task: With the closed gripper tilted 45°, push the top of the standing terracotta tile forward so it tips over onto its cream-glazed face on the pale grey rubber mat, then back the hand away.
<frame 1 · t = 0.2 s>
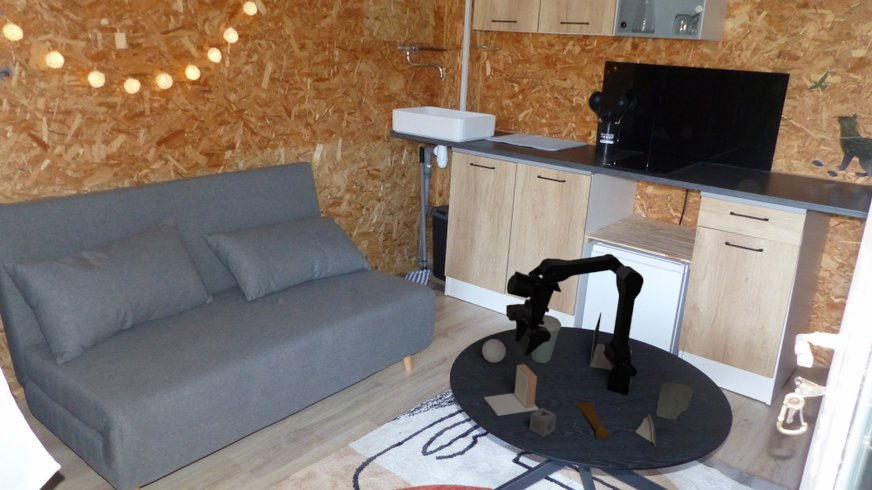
hand: (521, 348, 208), 15 cm above the table, tool tilted 15°, fingers open, 9 cm apart
tile: (523, 400, 208), resting on mat
dice cube: (541, 430, 195), on the table
ceramic fragment: (648, 433, 196), on the table
geometric ball: (492, 361, 233), on the table
mat: (510, 404, 207), on the table
disposable coffee cup: (541, 359, 236), on the table
stone slab: (674, 404, 213), on the table
primitive tool: (590, 421, 201), on the table
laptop: (611, 360, 239), on the table
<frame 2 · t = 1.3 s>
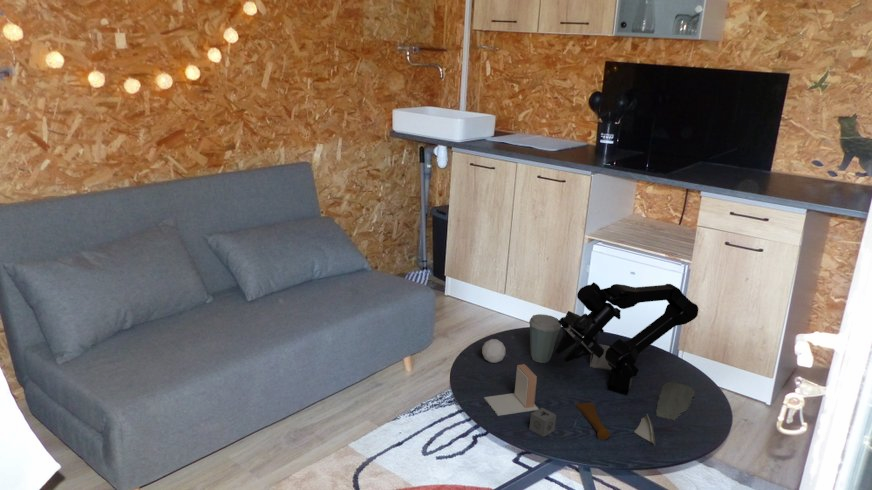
hand: (560, 357, 208), 14 cm above the table, tool tilted 45°, fingers open, 5 cm apart
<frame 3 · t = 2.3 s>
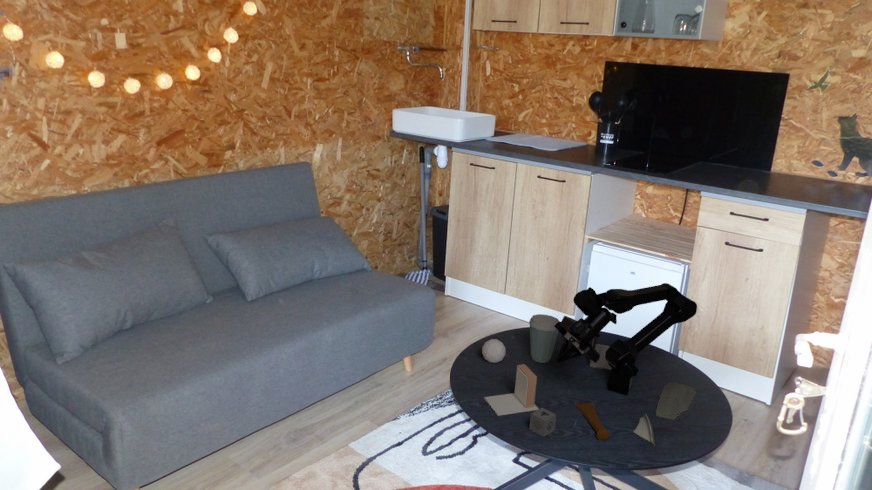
hand: (556, 361, 208), 12 cm above the table, tool tilted 45°, fingers closed
nothing on the table moved.
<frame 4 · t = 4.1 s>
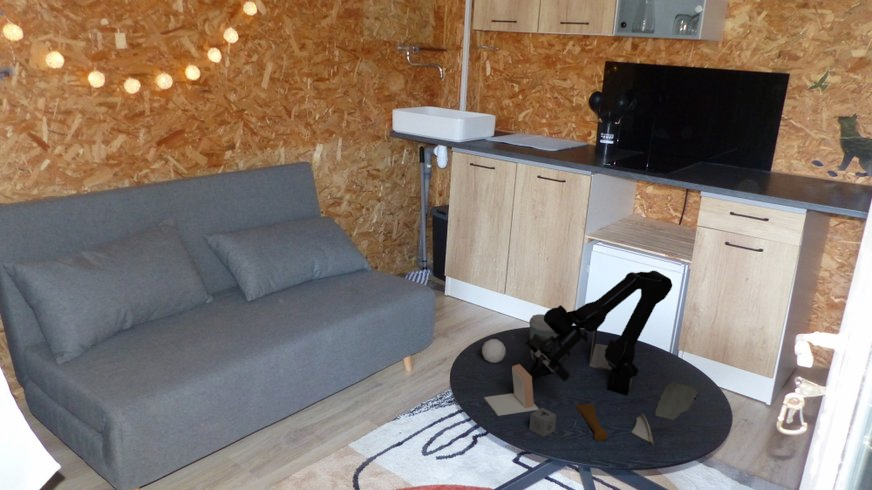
hand: (526, 379, 206), 7 cm above the table, tool tilted 45°, fingers closed, pressing on tile
tile: (523, 400, 208), point 1 cm above the table, tilted 10°, touching gripper, mat
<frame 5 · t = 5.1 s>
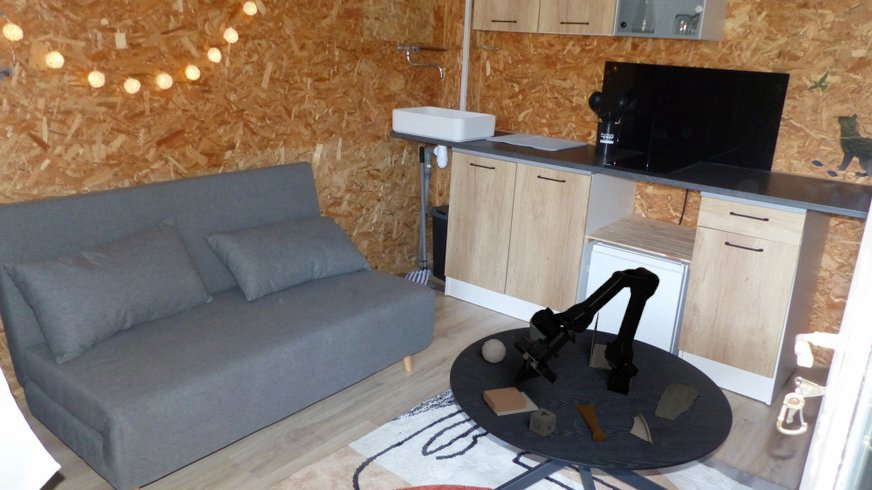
hand: (514, 382, 205), 7 cm above the table, tool tilted 45°, fingers closed
tile: (520, 397, 207), point 2 cm above the table, tilted 90°, touching mat
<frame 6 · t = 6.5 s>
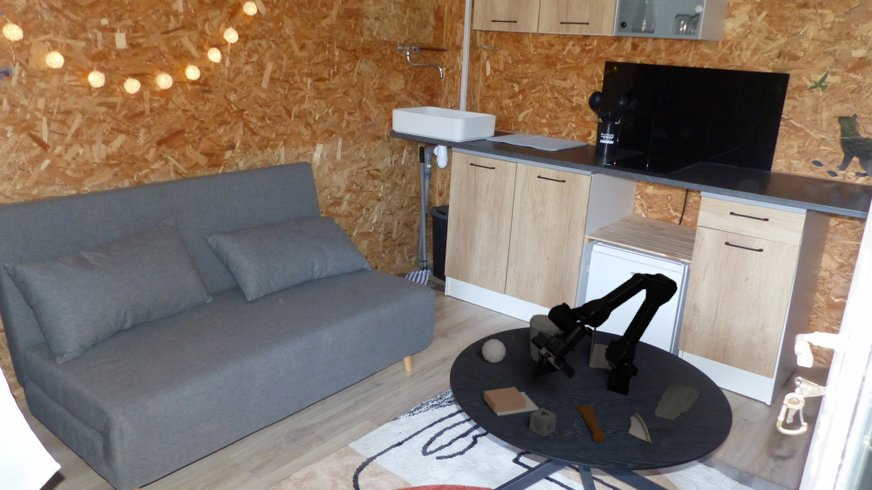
hand: (532, 377, 206), 8 cm above the table, tool tilted 45°, fingers closed
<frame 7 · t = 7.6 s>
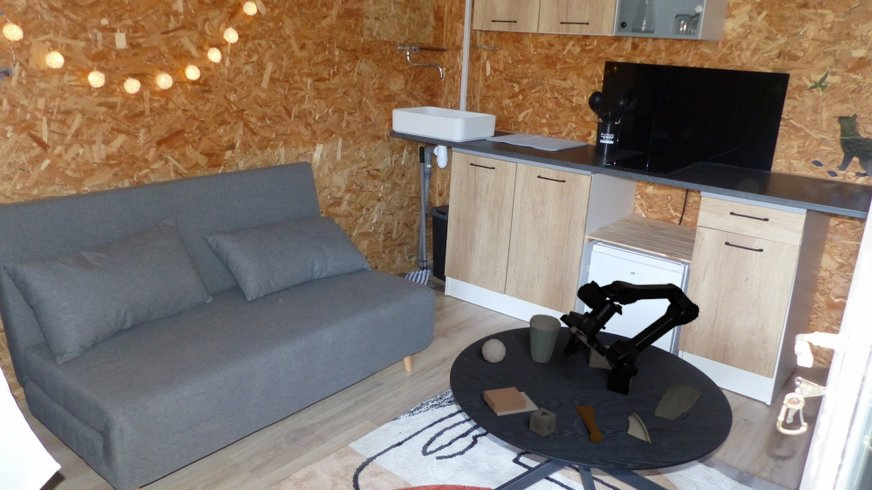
hand: (564, 355, 209), 13 cm above the table, tool tilted 40°, fingers closed
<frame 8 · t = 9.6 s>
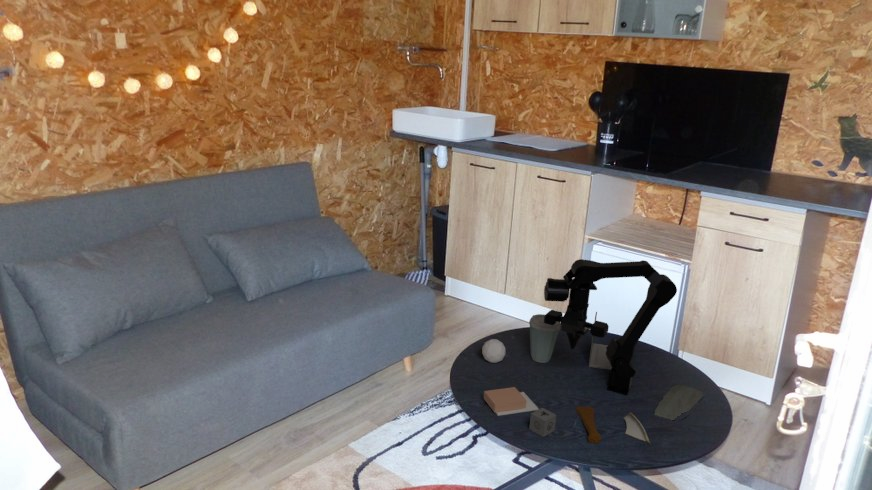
hand: (572, 348, 215), 13 cm above the table, tool pointing down, fingers closed
at the end: tile tilted 90°; tile inside the target area (0.8 cm from its centre), point 1.8 cm above the table; tile touching mat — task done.
